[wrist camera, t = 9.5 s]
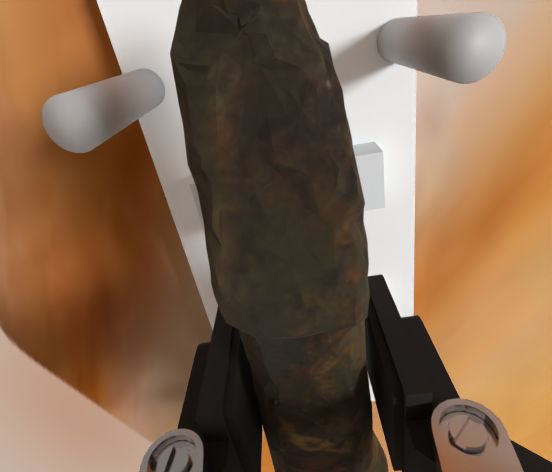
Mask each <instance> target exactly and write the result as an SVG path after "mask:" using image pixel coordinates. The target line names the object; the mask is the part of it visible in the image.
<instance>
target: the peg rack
mask: <svg viewBox="0 0 552 472" xmlns="http://www.w3.org/2000/svg"><path fill="white" fill-rule="evenodd" d="M181 1H182V0H97V3H98V6H99V9H100V12H101V14H102V17H103V20H104V23H105V26H106V29H107V32H108V34H109V37H110V40H111V43H112V46H113V49H114V52H115V54H116V57H117V60H118V63H119V66H120V69H121V71H122V74H121V75H118V76H115V77H112V78H109V79H105V80H102V81H99V82H96V83H93V84H89V85H86V86H83V87H80V88H77V89H73V90H70V91H67V92H64V93H61V94H57V95H55V96H52V97H51V98H49V99H48V100H47V101H46V103H45V104H44V106H43V109H42V123H43V126H44V128H45V131H46V132H47V134H48V136H49V137H50V138H51V139H52V140H53V141H54V142H55V143H56V144H57V145H58V146H60V147H61V148H63V149H65V150H67V151H70V152H73V153H86V152H89V151H91V150H93V149H94V148H96V147H97V146H99V145H100V144H102V143H103V142H105V141H106V140H108V139H109V138H111V137H112V136H114V135H115V134H117V133H118V132H120V131H121V130H123V129H124V128H126V127H127V126H128V125H130V124H131V123H133V122H134V121H136V120H137V119H138V120H139V123H140V126H141V128H142V131H143V134H144V137H145V140H146V143H147V146H148V148H149V151H150V154H151V157H152V160H153V163H154V165H155V168H156V171H157V174H158V177H159V180H160V183H161V185H162V188H163V191H164V194H165V197H166V200H167V202H168V205H169V208H170V211H171V214H172V217H173V220H174V222H175V225H176V228H177V231H178V234H179V237H180V240H181V242H182V245H183V248H184V251H185V254H186V257H187V259H188V262H189V265H190V268H191V271H192V274H193V277H194V279H195V282H196V285H197V288H198V291H199V294H200V296H201V299H202V302H203V305H204V308H205V311H206V314H207V316H208V319H209V322H210V325H211V328H212V331H213V328H214V323H215V318H216V313H217V308H218V304H217V302H216V299H215V296H214V293H213V289H212V285H211V274H210V267H209V261H208V255H207V250H206V241H205V230H204V222H203V217H202V212H201V207H200V202H199V196H198V191H197V188H196V185H195V182H194V180H193V177H192V175H191V172H190V170H189V167H188V164H187V155H186V147H185V138H184V129H183V122H182V118H181V113H180V108H179V103H178V97H177V91H176V86H175V80H174V75H173V69H172V63H171V58H170V50H171V46H172V41H173V37H174V32H175V27H176V22H177V17H178V12H179V7H180V4H181ZM305 1H306V4H307V8H308V11H309V14H310V16H311V18H312V20H313V22H314V24H315V27H316V29H317V32H318V34H319V37H320V38H321V39H323V40H324V41H326V42H328V43H329V47H330V51H331V56H332V60H333V65H334V69H335V72H336V74H337V77H338V79H339V82H340V85H341V87H342V90H343V96H344V104H345V110H346V115H347V119H348V123H349V127H350V132H351V136H352V144H353V150H354V154H355V159H356V164H357V168H358V173H359V177H360V182H361V187H362V191H363V196H364V201H365V206H364V226H365V231H366V236H367V241H368V258H369V269H368V276H373V275H381V274H382V275H383V276H384V279H385V281H386V283H387V286H388V288H389V290H390V293H391V295H392V297H393V300H394V302H395V304H396V307H397V309H398V312H399V314H400V316H401V317H409V316H413V308H414V225H415V142H416V70H418V71H421V72H424V73H427V74H431V75H434V76H437V77H440V78H443V79H447V80H450V81H453V82H456V83H460V84H469V83H474V82H476V81H479V80H481V79H483V78H484V77H486V76H487V75H488V74H490V73H491V72H492V71H493V70H494V68H495V67H496V66H497V65H498V63H499V62H500V60H501V58H502V56H503V53H504V50H505V46H506V32H505V28H504V26H503V24H502V22H501V21H500V20H499V19H498V18H497V17H496V16H494V15H493V14H490V13H486V12H474V13H459V14H445V15H430V16H417V0H305ZM367 372H368V371H367ZM368 380H369V389H370V396H371V401H375V398H374V394H373V390H372V386H371V383H370V379H369V375H368Z"/></svg>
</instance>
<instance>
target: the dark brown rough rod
mask: <svg viewBox="0 0 552 472" xmlns="http://www.w3.org/2000/svg"><path fill="white" fill-rule="evenodd" d="M170 58H171V63H172V69H173V75H174V80H175V86H176V91H177V97H178V103H179V108H180V113H181V118H182V122H183V129H184V138H185V147H186V155H187V164H188V167H189V170H190V172H191V175H192V177H193V180H194V182H195V185H196V188H197V191H198V196H199V202H200V207H201V212H202V217H203V222H204V230H205V241H206V250H207V255H208V261H209V267H210V274H211V285H212V289H213V293H214V296H215V299H216V302H217V304H218V307H219V309H220V311H221V313H222V315H223V317H224V319H225V322H226V323H227V324H229V325H231V326H233V327H235V328H237V329H238V332H239V333H240V336H241V339H242V342H243V346H244V349H245V353H246V356H247V359H248V361H249V363H250V367H251V371H252V378H253V386H254V391H255V394H256V396H257V399H258V403H259V408H260V415H261V420H262V424H263V428H264V432H265V435H266V439H267V442H268V446H269V450H270V453H271V457H272V461H273V465H274V469H275V472H388V463H387V459H386V456H385V454H384V451H383V449H382V447H381V445H380V443H379V441H378V439H377V437H376V435H375V433H374V432H373V430H372V403H371V396H370V389H369V380H368V372H367V364H366V343H365V319H366V317H367V315H368V306H369V297H370V290H369V283H368V269H369V258H368V241H367V236H366V231H365V226H364V206H365V201H364V196H363V191H362V187H361V182H360V177H359V173H358V168H357V164H356V159H355V154H354V150H353V144H352V136H351V132H350V127H349V123H348V119H347V115H346V110H345V104H344V96H343V90H342V87H341V85H340V82H339V79H338V77H337V74H336V72H335V69H334V65H333V60H332V56H331V51H330V47H329V43H328V42H326V41H324V40H323V39H321V38H320V37H319V34H318V32H317V29H316V27H315V24H314V22H313V20H312V18H311V16H310V14H309V11H308V8H307V4H306V1H305V0H182V1H181V4H180V7H179V12H178V17H177V22H176V27H175V32H174V37H173V41H172V46H171V50H170Z"/></svg>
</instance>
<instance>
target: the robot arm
mask: <svg viewBox="0 0 552 472" xmlns="http://www.w3.org/2000/svg"><path fill="white" fill-rule="evenodd" d="M368 283H369V290H370V297H369V306H368V315H367V317H366V319H365V343H366V364H367V371H368V375H369V379H370V383H371V386H372V390H373V394H374V398H375V402H376V405H377V409H378V413H379V417H380V421H381V424H382V428H383V432H384V436H385V440H386V443H387V447H388V451H389V455H390V459H391V462H392V466H393V469H394V471H399V470H402V472H552V462H550V461H548V460H546V459H544V458H543V457H541V456H539V455H537V454H535V453H533V452H532V451H530V450H528V449H526V448H524V447H523V446H521V445H519V444H517V443H515V442H513V441H512V440H510V438H509V436H508V433H507V431H506V429H505V427H504V426H503V424H502V422H501V421H500V419H499V418H498V417H497V416H496V415H495V414H494V413H493V412H492V411H491V410H489V409H488V408H486V407H485V406H483V405H481V404H479V403H477V402H474V401H471V400H468V399H460V397H459V395H458V393H457V391H456V389H455V387H454V385H453V383H452V381H451V379H450V377H449V375H448V373H447V371H446V369H445V367H444V365H443V363H442V361H441V359H440V357H439V355H438V353H437V351H436V349H435V347H434V344H433V342H432V340H431V338H430V336H429V334H428V332H427V330H426V328H425V326H424V324H423V322H422V320H421V319H420V317H419V316H418V315H417V316H409V317H401V316H400V314H399V312H398V309H397V307H396V304H395V302H394V300H393V297H392V295H391V293H390V290H389V288H388V286H387V283H386V281H385V279H384V276H383V275H382V274H381V275H373V276H368ZM261 450H262V420H261V415H260V408H259V403H258V399H257V396H256V394H255V391H254V386H253V378H252V371H251V367H250V363H249V361H248V359H247V356H246V353H245V349H244V346H243V342H242V339H241V336H240V333H239V332H238V329H237V328H235V327H233V326H231V325H229V324H227V323H226V322H225V319H224V317H223V315H222V313H221V311H220V309H219V307H218V308H217V313H216V318H215V323H214V328H213V333H212V338H211V342H208V343H201V344H199V345H198V347H197V350H196V354H195V358H194V363H193V367H192V371H191V375H190V379H189V383H188V387H187V392H186V396H185V400H184V404H183V408H182V412H181V416H180V421H179V425H178V429H175V430H172V431H170V432H167V433H165V434H164V435H162V436H161V437H159V438H158V439H157V440H156V441H155V442H154V443H153V444H152V445H151V446H150V447H149V449H148V451H147V452H146V454H145V455H144V457H143V460H142V463H141V466H140V472H261Z"/></svg>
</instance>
